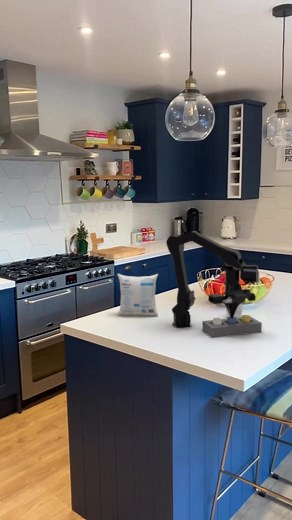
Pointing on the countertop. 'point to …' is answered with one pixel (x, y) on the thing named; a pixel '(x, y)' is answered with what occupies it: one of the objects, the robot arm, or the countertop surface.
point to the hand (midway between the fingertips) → (231, 317)
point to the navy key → (231, 320)
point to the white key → (217, 321)
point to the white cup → (238, 311)
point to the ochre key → (245, 318)
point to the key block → (231, 327)
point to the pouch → (137, 294)
